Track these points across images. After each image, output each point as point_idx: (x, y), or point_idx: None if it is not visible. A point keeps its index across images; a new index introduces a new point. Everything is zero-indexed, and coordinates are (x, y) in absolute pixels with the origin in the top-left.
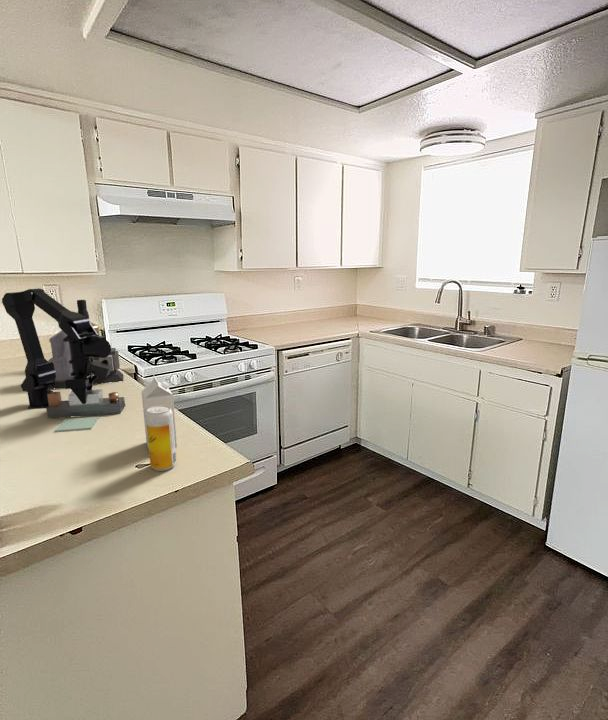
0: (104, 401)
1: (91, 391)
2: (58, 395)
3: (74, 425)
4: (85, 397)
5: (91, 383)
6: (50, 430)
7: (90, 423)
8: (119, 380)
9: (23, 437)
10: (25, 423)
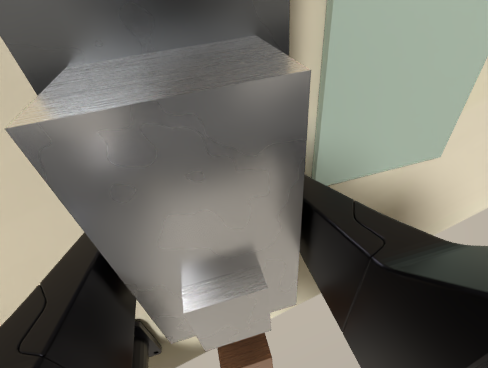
0: (161, 2)
1: (171, 223)
2: (252, 343)
3: (427, 98)
4: (327, 187)
5: (45, 363)
6: (404, 178)
7: (450, 2)
8: None
9: (424, 218)
10: (299, 278)
